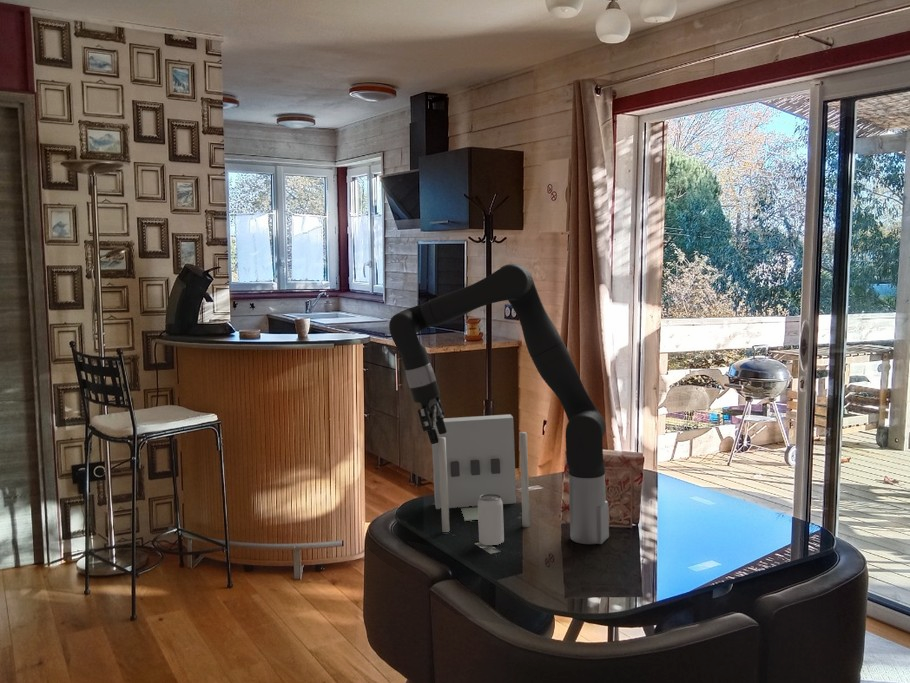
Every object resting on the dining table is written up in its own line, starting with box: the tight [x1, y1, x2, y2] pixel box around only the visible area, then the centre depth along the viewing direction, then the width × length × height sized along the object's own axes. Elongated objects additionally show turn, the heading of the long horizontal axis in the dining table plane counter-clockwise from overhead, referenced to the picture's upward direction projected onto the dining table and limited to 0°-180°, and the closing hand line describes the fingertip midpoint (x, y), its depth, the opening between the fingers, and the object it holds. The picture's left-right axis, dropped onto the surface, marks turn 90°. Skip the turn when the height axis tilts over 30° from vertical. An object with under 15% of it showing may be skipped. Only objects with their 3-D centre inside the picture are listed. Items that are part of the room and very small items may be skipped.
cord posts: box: [438, 431, 531, 533], centre depth 212 cm, size 2×24×26 cm, turn 96°
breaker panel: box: [431, 413, 517, 510], centre depth 233 cm, size 7×24×26 cm, turn 96°
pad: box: [460, 506, 478, 522], centre depth 225 cm, size 10×10×1 cm
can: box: [477, 494, 505, 546], centre depth 203 cm, size 6×6×12 cm
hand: (439, 438), depth 214 cm, fingers open, 8 cm apart
